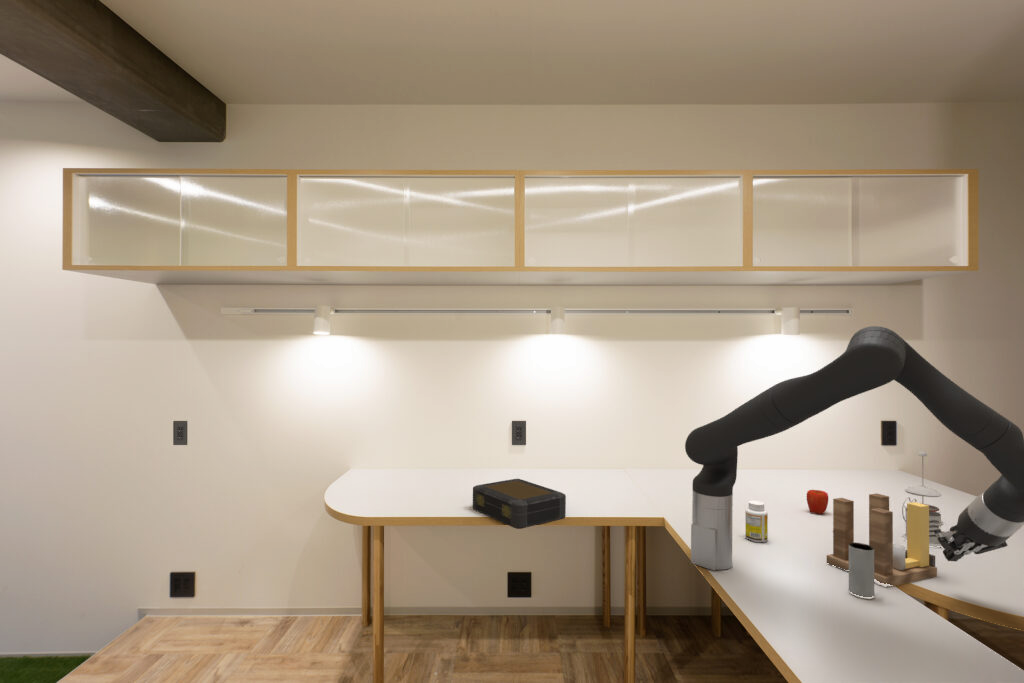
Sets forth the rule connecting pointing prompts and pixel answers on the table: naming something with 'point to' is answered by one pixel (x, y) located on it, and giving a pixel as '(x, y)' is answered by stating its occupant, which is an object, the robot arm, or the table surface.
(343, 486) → the table surface
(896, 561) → the hinged leg
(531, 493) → the black carrying case
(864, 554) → the grey tube
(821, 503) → the apple
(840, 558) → the wooden pillar stand
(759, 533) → the supplement bottle
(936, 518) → the french press
